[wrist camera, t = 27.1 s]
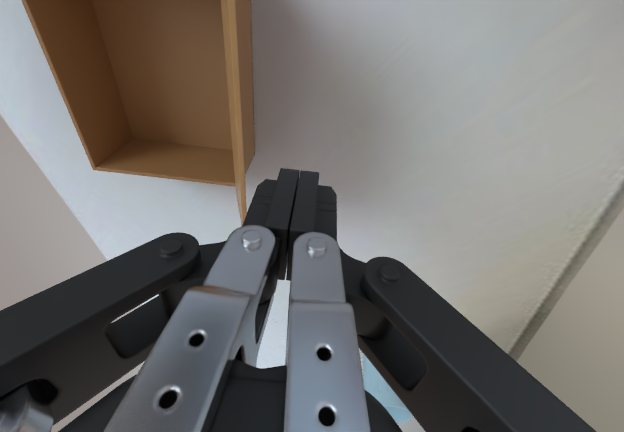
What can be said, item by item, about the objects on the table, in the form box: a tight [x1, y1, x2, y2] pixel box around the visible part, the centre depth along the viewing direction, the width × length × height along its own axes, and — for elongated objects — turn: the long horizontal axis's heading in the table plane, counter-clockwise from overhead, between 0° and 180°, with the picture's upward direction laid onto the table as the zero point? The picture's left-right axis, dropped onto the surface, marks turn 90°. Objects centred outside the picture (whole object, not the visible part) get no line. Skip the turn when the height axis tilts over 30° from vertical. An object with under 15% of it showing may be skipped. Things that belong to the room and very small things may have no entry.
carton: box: [22, 0, 255, 186], centre depth 23 cm, size 16×13×6 cm
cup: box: [363, 355, 413, 424], centre depth 49 cm, size 8×8×10 cm
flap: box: [221, 0, 247, 226], centre depth 18 cm, size 16×6×1 cm
